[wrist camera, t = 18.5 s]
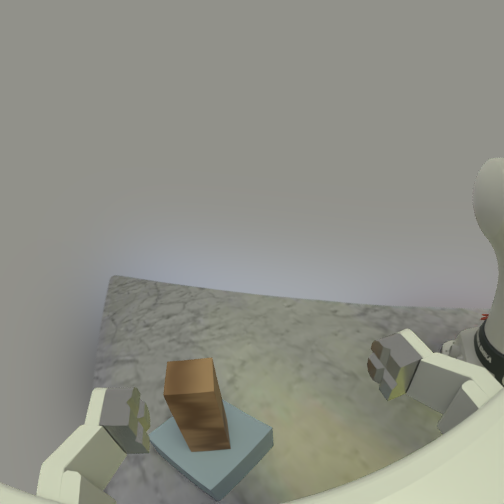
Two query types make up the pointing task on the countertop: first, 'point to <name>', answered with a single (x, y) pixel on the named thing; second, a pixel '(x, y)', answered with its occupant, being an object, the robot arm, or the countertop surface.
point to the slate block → (216, 452)
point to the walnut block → (197, 404)
